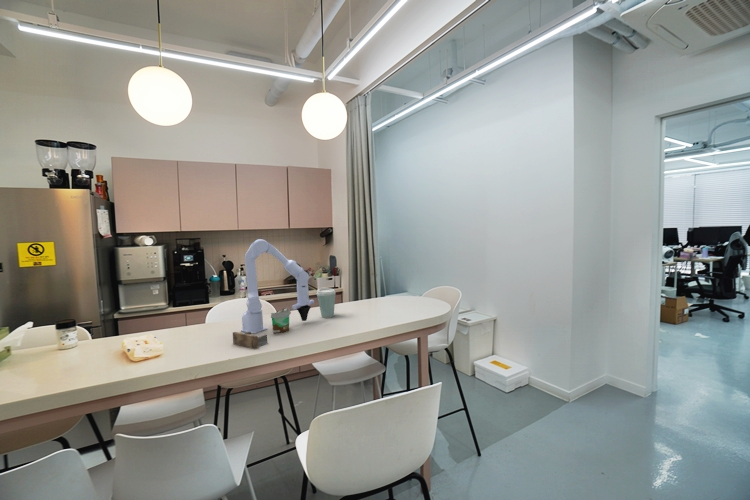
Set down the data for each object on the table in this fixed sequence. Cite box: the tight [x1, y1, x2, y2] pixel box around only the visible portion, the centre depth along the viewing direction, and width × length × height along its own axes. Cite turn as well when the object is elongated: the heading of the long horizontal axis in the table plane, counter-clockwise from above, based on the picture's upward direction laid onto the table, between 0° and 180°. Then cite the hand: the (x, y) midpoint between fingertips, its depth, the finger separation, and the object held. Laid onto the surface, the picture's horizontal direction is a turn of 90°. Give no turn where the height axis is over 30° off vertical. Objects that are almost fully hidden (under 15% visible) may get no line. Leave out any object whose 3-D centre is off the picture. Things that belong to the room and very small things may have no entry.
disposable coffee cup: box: [315, 287, 337, 319], centre depth 181 cm, size 11×11×15 cm
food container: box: [270, 307, 292, 335], centre depth 157 cm, size 12×6×10 cm, turn 168°
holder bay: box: [232, 331, 268, 350], centre depth 141 cm, size 14×7×5 cm, turn 60°
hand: (304, 320), depth 169 cm, fingers closed
